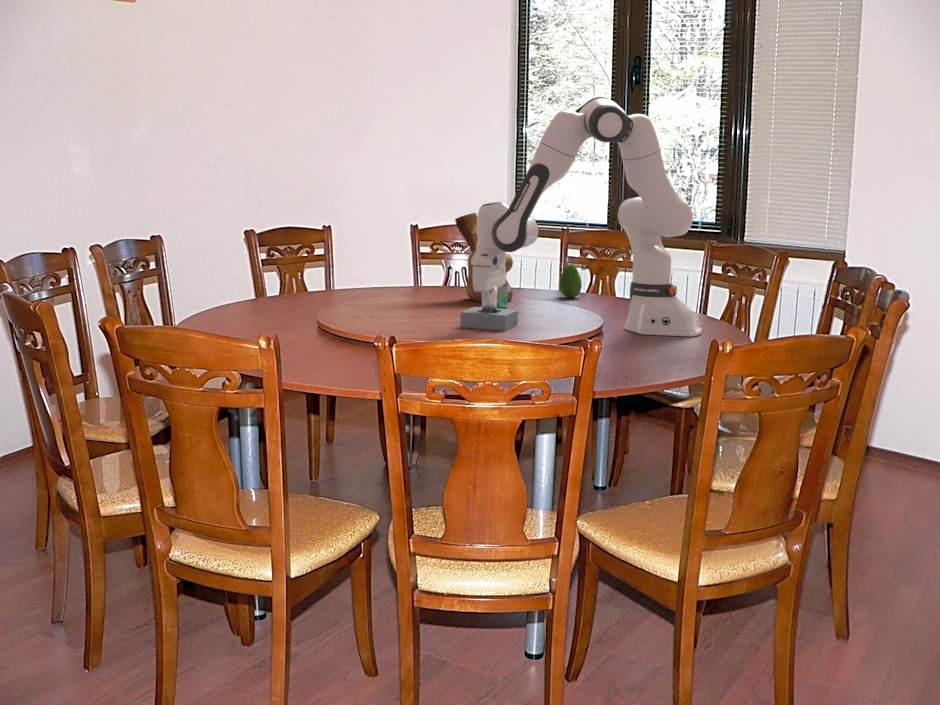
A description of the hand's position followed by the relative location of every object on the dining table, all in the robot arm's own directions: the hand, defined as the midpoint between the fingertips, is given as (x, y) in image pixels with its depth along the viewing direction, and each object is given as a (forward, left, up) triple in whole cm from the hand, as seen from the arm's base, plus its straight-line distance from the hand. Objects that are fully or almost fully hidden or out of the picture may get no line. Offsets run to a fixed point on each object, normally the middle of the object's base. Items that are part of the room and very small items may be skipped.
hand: (489, 303), depth 319 cm
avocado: (-6, -71, -7) cm, 72 cm away
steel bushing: (0, 0, -3) cm, 3 cm away
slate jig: (0, 0, -7) cm, 7 cm away
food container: (+3, -19, -7) cm, 21 cm away
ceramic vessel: (+20, -51, -7) cm, 56 cm away
